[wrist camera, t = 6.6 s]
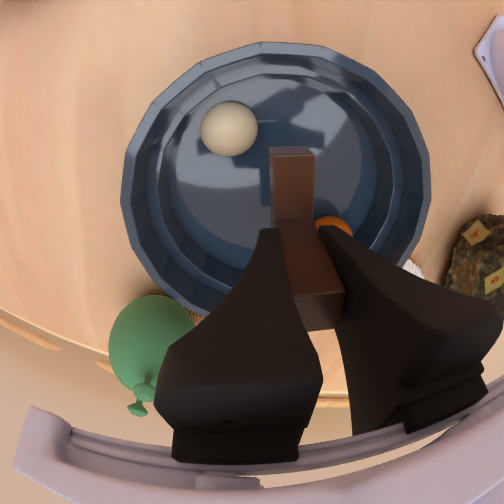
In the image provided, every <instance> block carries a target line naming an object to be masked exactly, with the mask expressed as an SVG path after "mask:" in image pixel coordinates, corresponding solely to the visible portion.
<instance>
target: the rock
mask: <svg viewBox="0 0 504 504" xmlns="http://www.w3.org/2000/svg"><path fill="white" fill-rule="evenodd" d="M460 235H461V238H460V241H459V243H458V244H457V245H456V246H455V247H454V249H453V251H454V253H453V259H452V264H451V266H450V269H449V270H448V272H447V274H446V275H445V278H446V281H445V286H444V288H447V289H450V290H453V291H456V292H459V293H462V294H465V295H469V296H472V297H476V298H480V299H484V300H488V301H490V302H491V303H492V304H493V305H494V307H495V308H496V310H497V311H498V312H499V314H500V315H501V317H502V318H503V320H504V216H502V215H499V216H496V215H492V214H489V215H487V216H480V217H478V218H477V219H476V220H474V221H470V222H469V223H468V224H467V225H466V226H465V227H464V228H463V229H462V230H461V231H460Z"/></svg>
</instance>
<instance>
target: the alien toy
mask: <svg viewBox="0 0 504 504" xmlns="http://www.w3.org/2000/svg"><path fill="white" fill-rule="evenodd" d="M194 327H196V326H195V324H194V322H193V319H192V317H191V315H190V314H189V312H188V311H187V310H186V309H185V308H184V307H183V306H182V305H181V304H179V303H178V302H177V301H176V300H174V299H172V298H170V297H167V296H163V295H146V296H143V297H140V298H138V299H136V300H134V301H132V302H131V303H130V304H128V305H127V306H126V307H125V308H124V309H123V310H122V311H121V312H120V314H119V315H118V317H117V318H116V321H115V323H114V325H113V328H112V330H111V333H110V338H109V357H110V363H111V366H112V369H113V371H114V373H115V374H116V376H117V378H118V379H119V380H120V382H121V383H122V384H123V385H124V386H125V387H127V388H128V389H130V390H131V391H133V393H134V395H135V396H136V397H137V401H136V403H134V404H131V405H129V406H128V407H127V408H128V410H129V411H130V412H131V414H133V415H136V416H139V417H142V416H145V415H147V414H148V412H147V410H146V409H145V408H144V407H143V405H142V403H143V401H144V402H152V401H154V395H155V389H156V383H157V378H158V374H159V370H160V368H161V365H162V362H163V359H164V357H165V354H166V352H167V349H168V347H169V346H170V345H171V344H173V343H174V342H176V341H177V340H178V339H180V338H181V337H182V336H184V335H185V334H186V333H188V332H189V331H191V330H192V329H193V328H194Z"/></svg>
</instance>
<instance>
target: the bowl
mask: <svg viewBox="0 0 504 504" xmlns="http://www.w3.org/2000/svg"><path fill="white" fill-rule="evenodd" d="M230 101H231V102H237V103H240V104H243V105H244V106H246V107H247V108H249V109H250V110H251V111H252V113H253V114H254V116H255V118H256V120H257V125H258V132H257V137H256V139H255V141H254V143H253V145H252V146H251V147H250V148H249V149H248V150H246V151H245V152H243V153H242V154H239V155H236V156H231V157H226V156H220V155H217V154H215V153H213V152H212V151H210V150H209V149H208V148H207V147H206V146H205V144H204V143H203V141H202V138H201V135H200V124H201V121H202V118H203V116H204V115H205V113H206V112H207V111H208V110H209V109H210V108H211V107H213V106H214V105H216V104H219V103H222V102H230ZM279 146H306V147H307V148H308V149H309V150H310V151H311V152H312V153H314V155H315V176H314V202H313V221H314V222H315V221H317V220H318V219H320V218H322V217H325V216H335V217H338V218H340V219H342V220H343V221H345V222H346V223H347V224H348V226H349V227H350V229H351V231H352V234H353V237H354V238H355V239H357V240H358V241H359V242H361V243H362V244H364V245H365V246H367V247H368V248H370V249H371V250H373V251H374V252H376V253H377V254H379V255H380V256H382V257H384V258H385V259H387V260H388V261H390V262H392V263H394V264H395V265H397V266H399V267H401V268H403V266H404V264H405V263H406V261H407V260H408V258H409V257H410V255H411V253H412V252H413V250H414V248H415V247H416V245H417V243H418V242H419V240H420V238H421V235H422V231H423V228H424V224H425V221H426V217H427V213H428V210H429V206H430V202H431V174H430V158H429V152H428V150H427V147H426V144H425V142H424V139H423V137H422V134H421V132H420V129H419V127H418V124H417V122H416V120H415V117H414V115H413V113H412V111H411V110H410V108H409V107H408V106H407V105H406V104H405V103H404V101H403V100H402V99H401V98H400V97H399V96H398V95H397V94H396V92H395V91H394V90H393V89H392V88H391V87H390V86H389V85H388V84H387V83H386V82H385V81H384V80H383V79H382V78H381V77H380V76H379V75H378V74H377V73H376V72H375V71H374V70H372V69H370V68H368V67H366V66H364V65H363V64H361V63H359V62H357V61H355V60H353V59H351V58H349V57H346V56H344V55H342V54H340V53H338V52H336V51H333V50H331V49H329V48H326V47H324V46H323V47H322V46H319V45H310V44H299V43H285V42H257V43H253V44H250V45H246V46H243V47H240V48H237V49H233V50H230V51H227V52H224V53H221V54H219V55H216V56H213V57H210V58H208V59H205V60H202V61H200V63H197V64H195V65H194V66H193V67H192V68H190V69H189V70H188V71H187V72H185V73H184V74H183V75H182V76H180V77H179V78H178V79H177V80H176V81H174V82H173V83H172V84H171V85H170V86H169V87H168V88H166V89H165V90H164V91H163V92H162V93H161V94H160V95H159V96H157V97H156V98H155V99H154V100H153V102H152V103H151V104H150V106H149V108H148V109H147V111H146V113H145V115H144V117H143V118H142V120H141V122H140V124H139V126H138V128H137V130H136V132H135V134H134V135H133V137H132V139H131V141H130V143H129V145H128V148H127V150H126V153H125V160H124V168H123V176H122V185H121V196H120V204H121V209H122V213H123V217H124V221H125V225H126V229H127V233H128V237H129V241H130V244H131V248H132V249H133V251H134V252H135V254H136V256H137V257H138V259H139V260H140V262H141V263H142V265H143V266H144V268H145V269H146V271H147V272H148V274H149V275H150V277H151V278H152V280H153V281H154V282H155V283H156V284H157V285H158V286H159V287H160V288H161V289H163V290H164V291H165V292H166V293H167V294H169V295H170V296H171V297H172V298H173V299H175V300H176V301H177V302H178V303H179V304H181V305H182V306H183V307H184V308H186V309H188V310H190V311H192V312H194V313H196V314H199V315H201V316H203V317H206V316H207V315H208V314H209V313H211V312H212V311H213V310H214V309H215V308H216V307H217V306H218V304H219V303H220V302H221V301H222V300H223V299H224V297H225V296H226V295H227V294H228V293H229V291H230V290H231V289H232V287H233V286H234V285H235V283H236V282H237V280H238V279H239V277H240V276H241V274H242V273H243V271H244V269H245V267H246V265H247V264H248V262H249V260H250V258H251V256H252V253H253V251H254V249H255V246H256V243H257V240H258V235H259V231H260V230H261V229H265V228H271V205H270V174H269V147H279Z"/></svg>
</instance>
